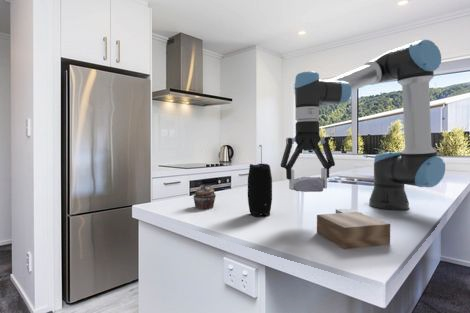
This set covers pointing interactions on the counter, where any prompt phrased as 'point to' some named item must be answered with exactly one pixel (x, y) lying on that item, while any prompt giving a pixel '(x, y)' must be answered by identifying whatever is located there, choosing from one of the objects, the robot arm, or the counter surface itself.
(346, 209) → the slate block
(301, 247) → the counter surface
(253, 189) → the portable speaker
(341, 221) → the walnut block
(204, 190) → the cupcake
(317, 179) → the stone block
